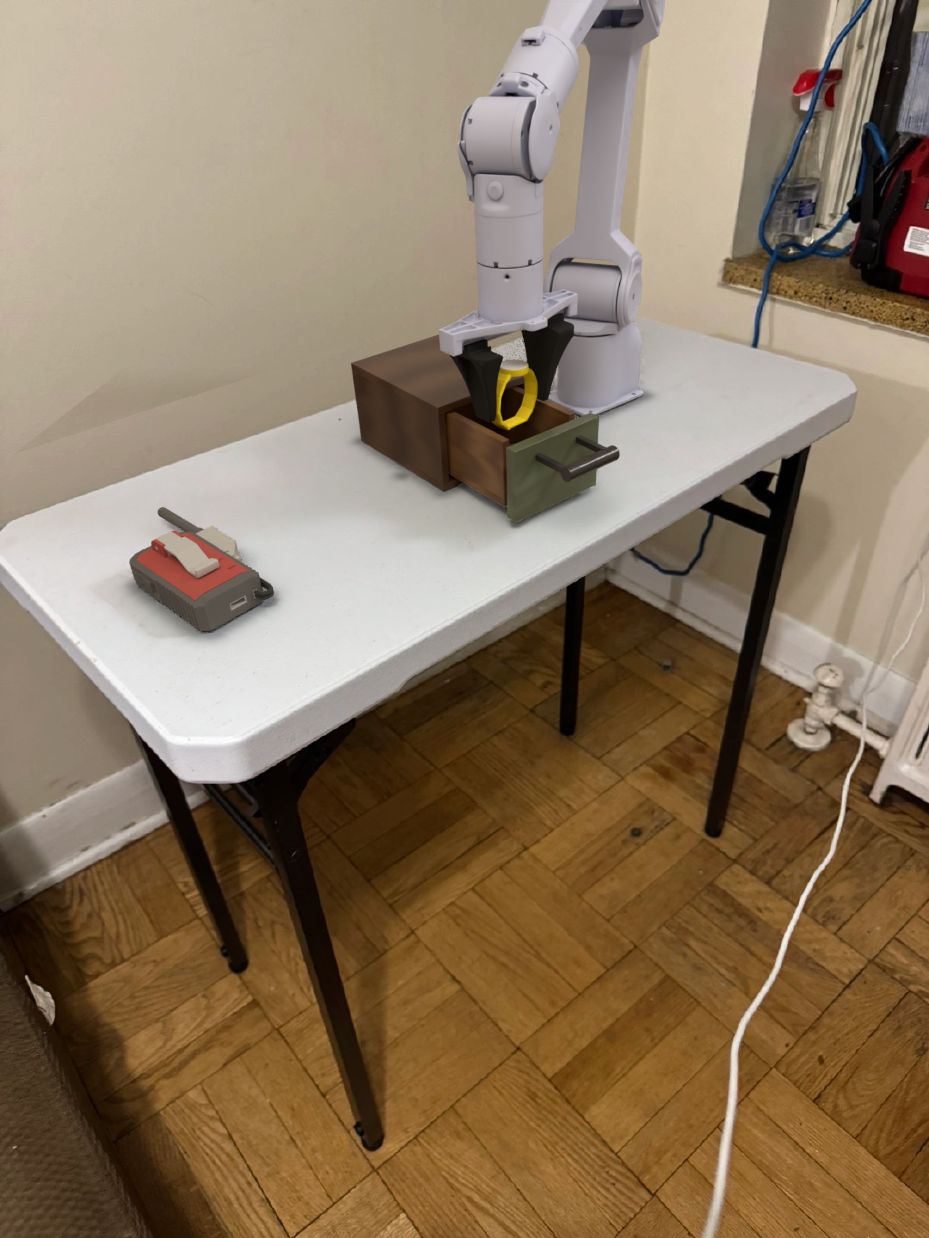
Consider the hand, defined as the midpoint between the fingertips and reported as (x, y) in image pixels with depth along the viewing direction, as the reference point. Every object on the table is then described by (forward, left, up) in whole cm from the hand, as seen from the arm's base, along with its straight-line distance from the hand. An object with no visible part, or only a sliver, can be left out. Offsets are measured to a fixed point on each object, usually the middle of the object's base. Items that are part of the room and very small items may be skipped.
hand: (512, 408), depth 82 cm
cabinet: (0, -12, -9) cm, 15 cm away
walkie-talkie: (+32, -8, -9) cm, 34 cm away
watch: (0, 0, -2) cm, 2 cm away
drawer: (0, +2, -8) cm, 8 cm away
